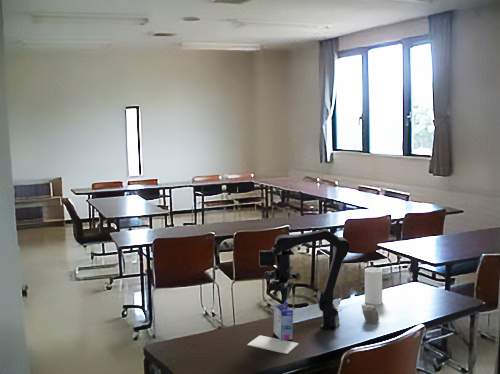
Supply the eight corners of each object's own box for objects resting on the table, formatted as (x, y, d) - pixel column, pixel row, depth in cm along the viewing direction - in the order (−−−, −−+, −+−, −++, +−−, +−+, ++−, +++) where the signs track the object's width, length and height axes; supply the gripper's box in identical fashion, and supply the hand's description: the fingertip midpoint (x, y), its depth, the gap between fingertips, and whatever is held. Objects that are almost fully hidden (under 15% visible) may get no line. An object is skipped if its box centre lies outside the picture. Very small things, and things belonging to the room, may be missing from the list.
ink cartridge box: (293, 339, 217) (293, 304, 216) (280, 341, 216) (280, 306, 214) (285, 331, 227) (285, 298, 225) (273, 332, 225) (273, 299, 224)
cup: (361, 300, 261) (361, 268, 259) (376, 297, 263) (376, 266, 261) (370, 305, 253) (370, 272, 251) (385, 303, 255) (385, 270, 253)
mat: (259, 336, 222) (259, 335, 222) (298, 344, 213) (298, 343, 213) (247, 345, 214) (247, 344, 214) (287, 354, 205) (287, 353, 205)
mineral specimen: (358, 317, 237) (362, 300, 236) (378, 322, 235) (382, 305, 234) (357, 322, 230) (361, 305, 229) (377, 328, 228) (381, 310, 227)
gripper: (277, 257, 238) (279, 291, 240) (255, 269, 222) (258, 305, 224) (299, 260, 232) (301, 294, 234) (279, 271, 216) (281, 308, 218)
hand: (285, 300), depth 228 cm, fingers closed
